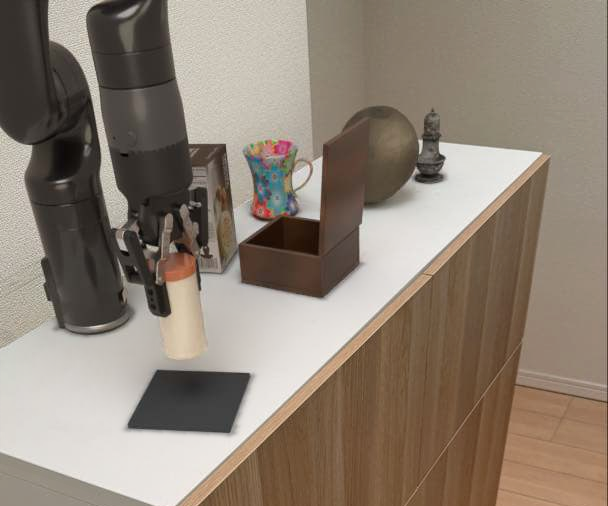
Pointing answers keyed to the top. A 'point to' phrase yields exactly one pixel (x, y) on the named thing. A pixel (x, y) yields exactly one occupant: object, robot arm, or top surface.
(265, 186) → the mug
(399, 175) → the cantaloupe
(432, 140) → the salt shaker
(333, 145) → the lid
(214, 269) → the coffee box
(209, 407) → the mat
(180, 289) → the canister
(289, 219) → the chest
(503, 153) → the top surface
